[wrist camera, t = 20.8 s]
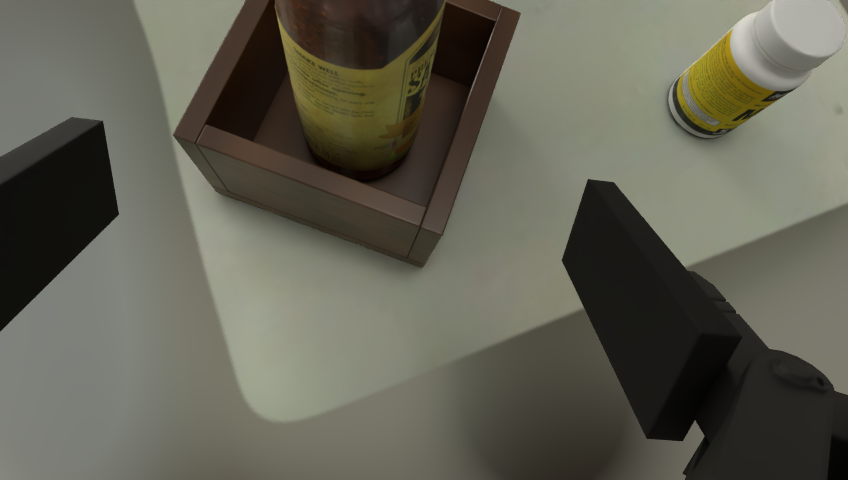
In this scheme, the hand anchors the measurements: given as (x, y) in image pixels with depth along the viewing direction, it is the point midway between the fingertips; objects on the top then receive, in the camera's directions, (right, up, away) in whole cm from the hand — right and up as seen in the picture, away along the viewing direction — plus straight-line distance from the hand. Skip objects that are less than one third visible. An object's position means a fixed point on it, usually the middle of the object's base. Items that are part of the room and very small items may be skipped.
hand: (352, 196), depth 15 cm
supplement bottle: (+20, +7, +19) cm, 29 cm away
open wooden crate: (-2, +5, +16) cm, 16 cm away
